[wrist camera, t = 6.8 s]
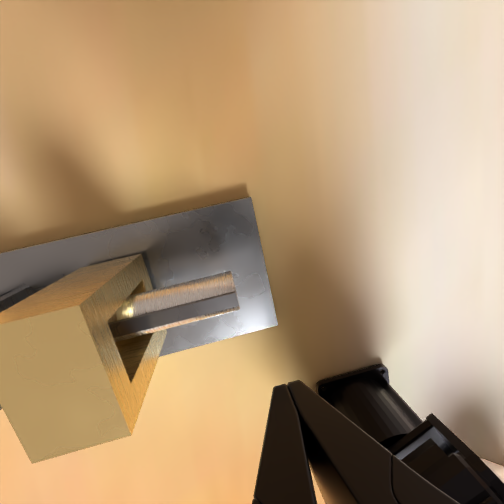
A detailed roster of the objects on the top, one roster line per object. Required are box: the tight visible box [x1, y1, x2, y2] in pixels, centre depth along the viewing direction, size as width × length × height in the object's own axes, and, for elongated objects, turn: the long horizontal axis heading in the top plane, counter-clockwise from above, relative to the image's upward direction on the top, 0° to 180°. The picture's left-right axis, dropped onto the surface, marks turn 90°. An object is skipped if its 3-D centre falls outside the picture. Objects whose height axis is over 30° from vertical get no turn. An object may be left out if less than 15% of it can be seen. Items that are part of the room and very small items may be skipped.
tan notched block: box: [0, 253, 167, 464], centre depth 14 cm, size 4×6×8 cm, turn 12°
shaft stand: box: [0, 197, 278, 410], centre depth 17 cm, size 18×10×6 cm, turn 102°
